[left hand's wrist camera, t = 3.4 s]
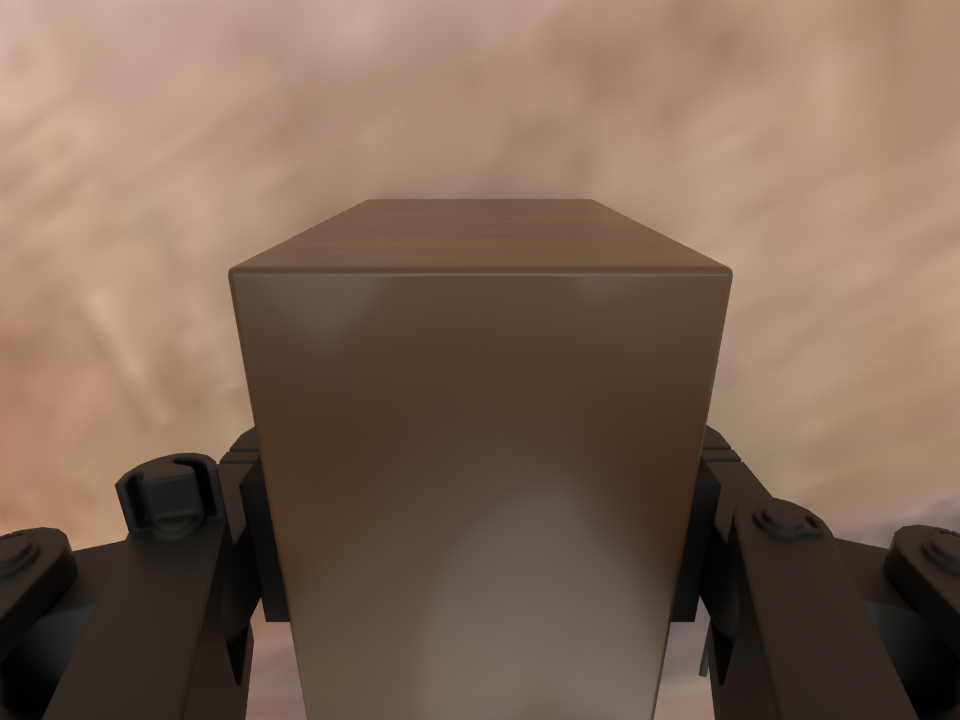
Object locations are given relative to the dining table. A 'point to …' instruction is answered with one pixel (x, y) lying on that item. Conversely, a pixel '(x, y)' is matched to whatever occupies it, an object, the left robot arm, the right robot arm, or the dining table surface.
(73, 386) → the dining table surface
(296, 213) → the dining table surface
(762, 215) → the dining table surface
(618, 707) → the bar
